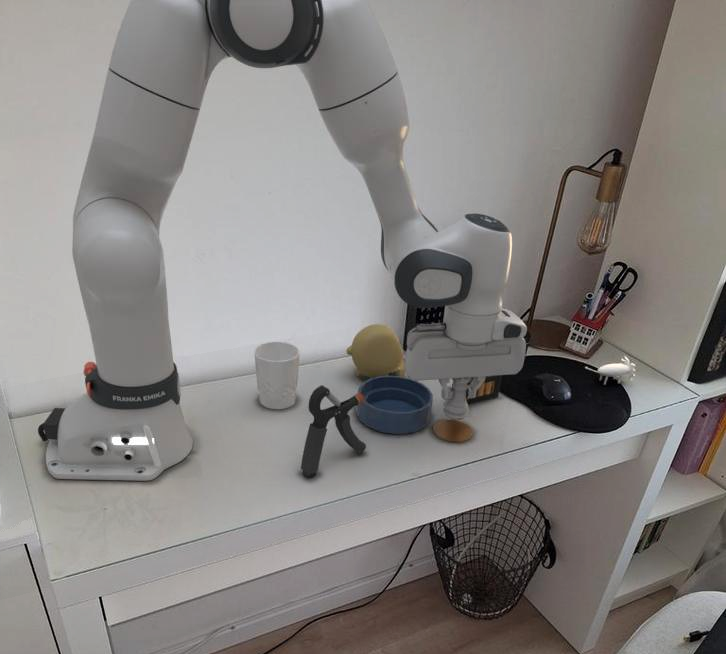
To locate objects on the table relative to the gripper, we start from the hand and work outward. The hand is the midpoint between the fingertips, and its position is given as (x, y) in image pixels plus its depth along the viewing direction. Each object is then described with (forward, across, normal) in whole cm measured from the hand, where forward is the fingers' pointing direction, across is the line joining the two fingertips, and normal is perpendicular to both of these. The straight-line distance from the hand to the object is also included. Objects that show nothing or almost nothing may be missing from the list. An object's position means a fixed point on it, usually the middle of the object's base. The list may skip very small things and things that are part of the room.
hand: (458, 397), depth 118 cm
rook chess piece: (+4, 0, 0) cm, 4 cm away
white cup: (+7, -29, +15) cm, 33 cm away
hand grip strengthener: (+7, -23, -6) cm, 25 cm away
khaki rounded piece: (+7, -8, +22) cm, 24 cm away
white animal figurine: (+7, +38, +13) cm, 41 cm away
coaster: (+7, 0, 0) cm, 7 cm away
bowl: (+7, -9, +7) cm, 13 cm away
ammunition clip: (+7, +8, +10) cm, 15 cm away
